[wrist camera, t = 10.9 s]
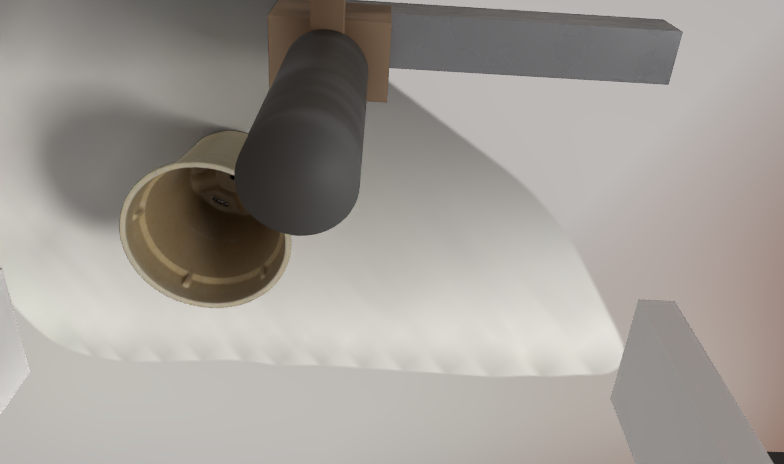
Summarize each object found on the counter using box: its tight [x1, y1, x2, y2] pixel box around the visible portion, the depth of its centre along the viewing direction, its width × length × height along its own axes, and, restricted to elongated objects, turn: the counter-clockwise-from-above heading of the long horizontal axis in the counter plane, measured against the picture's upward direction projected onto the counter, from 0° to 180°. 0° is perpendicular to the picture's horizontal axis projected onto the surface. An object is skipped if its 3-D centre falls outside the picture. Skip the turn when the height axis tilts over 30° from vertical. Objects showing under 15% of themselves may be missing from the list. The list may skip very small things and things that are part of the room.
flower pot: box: [119, 131, 291, 308], centre depth 42 cm, size 9×9×9 cm
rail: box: [346, 0, 682, 84], centre depth 40 cm, size 19×3×3 cm, turn 86°
